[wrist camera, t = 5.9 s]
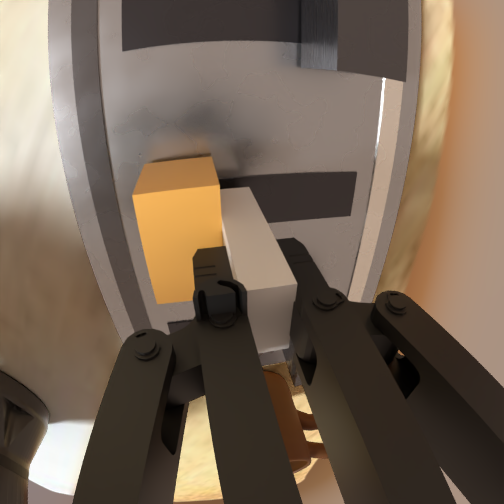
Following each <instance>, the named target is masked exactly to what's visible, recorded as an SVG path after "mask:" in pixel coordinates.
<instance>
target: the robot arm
mask: <svg viewBox="0 0 504 504" xmlns="http://www.w3.org/2000/svg"><path fill="white" fill-rule="evenodd" d="M220 199H221V218H222V235H223V246H219V247H211V248H202V249H197V251H196V253H195V254H194V256H193V258H192V260H193V273H194V286H195V290H194V293H193V304H194V310H195V317H194V319H193V320H192V321H191V323H190V324H188V325H187V326H186V327H185V328H183V329H181V330H179V331H176V332H174V333H171V334H169V335H167V334H165V333H164V332H162V331H160V330H156V329H142V330H140V331H137V332H134V333H133V334H132V335H130V336H129V337H128V338H127V339H126V340H125V342H124V343H123V345H122V347H121V350H120V352H119V355H118V358H117V360H116V363H115V366H114V368H113V371H112V374H111V376H110V379H109V382H108V385H107V388H106V390H105V393H104V396H103V399H102V402H101V405H100V408H99V411H98V414H97V417H96V420H95V423H94V426H93V430H92V433H91V436H90V439H89V443H88V446H87V450H86V453H85V456H84V460H83V464H82V467H81V471H80V475H79V479H78V482H77V486H76V490H75V495H74V499H73V503H72V504H173V499H174V492H175V486H176V479H177V472H178V466H179V460H180V453H181V447H182V441H183V435H184V429H185V423H186V417H187V412H188V406H189V401H192V400H194V399H197V398H199V397H201V396H203V395H206V403H207V409H208V416H209V423H210V429H211V435H212V441H213V447H214V453H215V459H216V464H217V470H218V475H219V480H220V486H221V491H222V496H223V500H224V504H302V500H301V497H300V494H299V491H298V488H297V484H296V481H295V478H294V474H293V471H292V468H291V465H290V461H289V458H288V455H287V451H286V448H285V445H284V441H283V438H282V435H281V431H280V428H279V424H278V421H277V418H276V414H275V411H274V407H273V404H272V400H271V397H270V393H269V390H268V386H267V383H266V379H265V376H264V372H263V369H262V365H261V362H260V358H259V355H258V353H264V352H270V351H276V350H281V349H287V348H289V343H290V338H291V341H292V343H293V346H294V348H295V349H294V355H293V361H292V366H291V375H295V371H296V369H297V372H298V375H299V377H300V380H301V383H302V386H303V388H304V391H305V394H306V397H307V399H308V402H309V405H310V408H311V411H312V413H313V416H314V419H315V422H316V424H317V427H318V430H319V433H320V436H321V438H322V441H323V444H324V447H325V450H326V452H327V455H328V458H329V460H330V463H331V466H332V469H333V472H334V475H335V477H336V480H337V483H338V486H339V488H340V491H341V494H342V497H343V499H344V503H345V504H456V502H455V500H454V497H453V495H452V493H451V491H450V488H449V486H448V484H447V482H446V480H445V477H444V475H443V473H442V471H441V469H440V467H441V468H442V470H443V471H444V472H445V473H446V474H447V476H448V477H449V478H450V479H451V480H452V482H453V483H454V484H455V485H456V486H457V488H458V489H459V490H460V491H461V492H462V494H463V495H464V496H465V497H466V499H467V500H468V501H469V502H470V503H471V504H504V388H503V387H502V386H501V385H500V383H498V381H497V380H496V379H495V378H494V377H493V376H492V375H491V374H490V373H489V372H488V371H487V370H486V369H485V368H484V367H483V366H482V365H481V364H480V363H479V362H478V361H477V360H476V359H475V358H474V357H473V356H472V355H471V354H470V353H469V352H468V351H467V350H466V349H465V348H464V347H463V346H462V345H460V344H459V342H458V341H457V340H455V339H454V338H453V337H452V336H451V335H450V334H449V333H448V332H447V331H446V330H445V329H444V328H443V327H442V326H441V325H440V324H438V323H437V322H436V321H435V320H434V319H433V318H432V317H431V316H430V315H429V314H427V313H426V312H425V311H424V310H423V309H422V308H421V307H420V306H418V304H416V303H415V302H414V301H413V300H412V299H411V298H409V297H408V296H406V295H405V294H403V293H400V292H397V291H385V292H382V293H381V294H379V295H378V296H377V298H376V301H375V303H363V302H353V301H349V300H348V298H347V297H346V296H345V295H344V294H343V293H342V292H340V291H339V290H337V289H335V288H331V287H329V285H328V284H327V282H326V280H325V279H324V277H323V275H322V274H321V272H320V270H319V269H318V267H317V265H316V264H315V262H313V259H312V257H311V255H309V252H308V251H307V249H306V247H305V246H304V244H302V243H301V242H300V241H298V240H297V239H295V238H294V237H293V238H284V239H275V237H274V235H273V233H272V231H271V229H270V227H269V225H268V223H267V221H266V219H265V217H264V215H263V213H262V211H261V209H260V207H259V205H258V203H257V201H256V199H255V198H254V196H253V194H252V192H251V190H250V188H249V187H242V188H230V189H220ZM398 350H400V351H401V352H402V353H403V354H404V355H405V356H403V355H400V354H399V353H398ZM48 421H49V412H48V410H47V408H46V407H45V405H44V404H43V403H42V402H41V401H40V400H39V399H38V398H37V397H36V396H35V395H34V394H33V393H32V392H30V391H29V390H28V389H27V388H25V387H24V386H22V385H21V384H20V383H18V382H17V381H15V380H14V379H12V378H10V377H9V376H7V375H6V374H4V373H2V372H0V504H28V476H29V467H30V464H31V462H32V460H33V458H34V456H35V454H36V452H37V450H38V448H39V446H40V444H41V442H42V440H43V438H44V436H45V434H46V432H47V428H48Z"/></svg>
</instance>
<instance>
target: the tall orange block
mask: <svg viewBox="0 0 504 504" xmlns="http://www.w3.org/2000/svg"><path fill="white" fill-rule="evenodd" d="M132 197H133V203H134V208H135V213H136V218H137V223H138V228H139V232H140V237H141V242H142V246H143V250H144V255H145V259H146V263H147V267H148V271H149V275H150V279H151V283H152V287H153V291H154V295H155V298H156V302H157V304H165V303H174V302H183V301H192V300H193V293H194V290H195V286H194V273H193V260H192V258H193V256H194V254H195V253H196V251H197V249H202V248H211V247H219V246H223V235H222V218H221V199H220V184H219V181H218V177H217V173H216V170H215V166H214V163H213V159H212V156H211V157H200V158H190V159H180V160H172V161H163V162H156V163H148V164H144V166H143V169H142V171H141V174H140V176H139V179H138V181H137V184H136V186H135V189H134V192H133V194H132Z"/></svg>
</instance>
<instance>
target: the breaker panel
mask: <svg viewBox="0 0 504 504" xmlns="http://www.w3.org/2000/svg"><path fill="white" fill-rule="evenodd" d="M48 50H49V69H50V82H51V92H52V101H53V109H54V117H55V124H56V130H57V136H58V142H59V147H60V153H61V158H62V163H63V167H64V172H65V176H66V181H67V185H68V189H69V193H70V197H71V201H72V205H73V209H74V212H75V216H76V219H77V223H78V226H79V230H80V233H81V236H82V239H83V243H84V246H85V249H86V252H87V255H88V258H89V261H90V264H91V266H92V269H93V272H94V275H95V278H96V280H97V283H98V286H99V288H100V291H101V293H102V296H103V299H104V301H105V304H106V306H107V308H108V311H109V313H110V316H111V318H112V320H113V323H114V325H115V327H116V329H117V332H118V334H119V336H120V338H121V341H122V343H124V342H125V340H126V339H127V338H128V337H129V336H130V335H132V334H133V333H134V332H137V331H140V330H142V329H156V330H160V331H162V332H164V333H165V334H167V335H169V334H171V333H174V332H176V331H179V330H181V329H183V328H185V327H186V326H187V325H188V324H190V323H191V321H192V320H193V319H194V317H195V310H194V304H193V300H192V301H183V302H174V303H165V304H157V302H156V298H155V295H154V291H153V287H152V283H151V279H150V275H149V271H148V267H147V263H146V259H145V255H144V250H143V246H142V242H141V237H140V232H139V228H138V223H137V218H136V213H135V208H134V203H133V197H132V194H133V192H134V189H135V186H136V184H137V181H138V179H139V176H140V174H141V171H142V169H143V166H144V164H148V163H156V162H163V161H172V160H180V159H190V158H200V157H211V156H212V159H213V163H214V166H215V170H216V173H217V177H218V181H219V184H220V189H230V188H242V187H249V188H250V190H251V192H252V194H253V196H254V198H255V199H256V201H257V203H258V205H259V207H260V209H261V211H262V213H263V215H264V217H265V219H266V221H267V223H268V225H269V227H270V229H271V231H272V233H273V235H274V237H275V239H284V238H293V237H294V238H295V239H297V240H298V241H300V242H301V243H302V244H304V246H305V247H306V249H307V251H308V252H309V255H311V257H312V259H313V262H315V264H316V265H317V267H318V269H319V270H320V272H321V274H322V275H323V277H324V279H325V280H326V282H327V284H328V285H329V287H331V288H335V289H337V290H339V291H340V292H342V293H343V294H344V295H345V296H346V297H347V298H348V300H349V301H353V302H363V303H372V301H373V298H374V295H375V292H376V289H377V286H378V282H379V279H380V276H381V273H382V269H383V266H384V263H385V259H386V256H387V252H388V249H389V245H390V241H391V238H392V234H393V230H394V226H395V222H396V218H397V214H398V209H399V205H400V201H401V196H402V191H403V187H404V182H405V177H406V172H407V166H408V161H409V155H410V149H411V143H412V136H413V129H414V122H415V114H416V106H417V97H418V86H419V73H420V57H421V0H49V7H48ZM294 349H295V348H294V346H293V343H292V341H291V338H290V343H289V348H287V349H281V350H276V351H270V352H264V353H258V355H259V358H260V362H261V365H262V366H264V365H270V364H275V363H281V362H286V363H287V366H288V369H289V372H290V375H291V366H292V361H293V355H294ZM291 378H292V381H293V384H294V386H299V385H302V383H301V380H300V377H299V375H298V372H297V369H296V371H295V375H291Z"/></svg>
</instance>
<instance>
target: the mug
mask: <svg viewBox="0 0 504 504" xmlns="http://www.w3.org/2000/svg"><path fill="white" fill-rule="evenodd" d="M263 372H264V376H265V379H266V383H267V386H268V390H269V393H270V397H271V400H272V404H273V407H274V411H275V414H276V418H277V421H278V424H279V428H280V431H281V435H282V438H283V441H284V445H285V448H286V451H287V455H288V458H289V461H290V465H291V468H292V471H293V473H296V472H298V471H300V470H302V469H304V468H306V467H307V466H309V465H310V463H311V457H312V458H321V459H329V458H328V455H327V452H326V450H325V447H324V444H323V443H316V442H309V441H306V438H305V435H304V432H303V430H317V429H318V427H317V424H316V422H315V419H314V416H313V414H307V413H304V412H301V411H299V410H296V408H295V405H294V402H293V399H292V396H291V393H290V390H289V387H288V385H287V383H286V381H285V379H284V378H283V377H281V376H280V375H278V374H276V373H273V372H269V371H263Z"/></svg>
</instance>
